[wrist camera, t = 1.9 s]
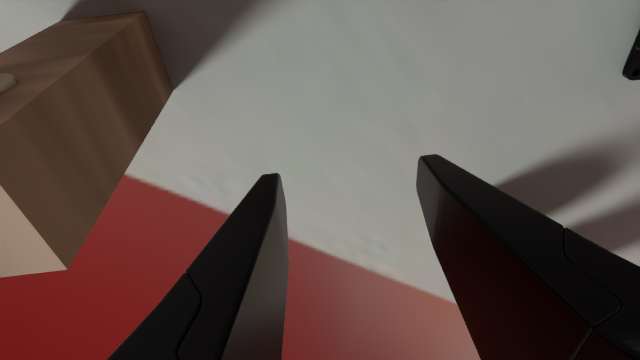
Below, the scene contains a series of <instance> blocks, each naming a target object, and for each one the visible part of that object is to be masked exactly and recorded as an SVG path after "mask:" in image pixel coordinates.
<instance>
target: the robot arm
mask: <svg viewBox="0 0 640 360" xmlns="http://www.w3.org/2000/svg"><path fill="white" fill-rule="evenodd" d="M635 69H636V70H635ZM634 70H635V71H634ZM633 71H634V72H633ZM632 72H633V73H632ZM622 74H623V76H624V77H625V78H627V79H629V80H640V30H639V33H638V35H637V38H636V40H635V42H634V45H633V47H632V50H631V52H630V54H629V57H628V59H627V61H626V64H625V66H624V69H623V72H622ZM416 187H417V193H418V197H419V200H420V204H421V207H422V211H423V214H424V218H425V222H426V225H427V229H428V232H429V236H430V239H431V242H432V245H433V248H434V250H435V253H436V255H437V258H438V260H439V263H440V265H441V267H442V270H443V272H444V274H445V277H446V279H447V281H448V284H449V286H450V288H451V291H452V293H453V295H454V298H455V300H456V302H457V305H458V307H459V310H460V312H461V314H462V316H463V319H464V321H465V324H466V326H467V328H468V330H469V333H470V335H471V338H472V340H473V342H474V345H475V347H476V349H477V352H478V354H479V357H480V359H481V360H640V267H639V266H637V265H635V264H633V263H631V262H629V261H627V260H625V259H623V258H621V257H619V256H617V255H615V254H613V253H612V252H610V251H608V250H606V249H604V248H602V247H601V246H599V245H597V244H595V243H593V242H591V241H589V240H588V239H586V238H584V237H582V236H580V235H579V234H577V233H575V232H573V231H572V230H570V229H568V228H564V227H563V225H561V224H559V223H557V222H556V221H554V220H552V219H550V218H549V217H547V216H545V215H543V214H541V213H540V212H538V211H536V210H534V209H533V208H531V207H529V206H527V205H526V204H524V203H522V202H520V201H519V200H517V199H515V198H513V197H512V196H510V195H508V194H506V193H504V192H503V191H501V190H499V189H497V188H496V187H494V186H492V185H490V184H489V183H487V182H485V181H483V180H482V179H480V178H478V177H476V176H475V175H473V174H471V173H469V172H467V171H466V170H464V169H462V168H460V167H459V166H457V165H455V164H453V163H452V162H450V161H448V160H446V159H445V158H443V157H441V156H439V155H437V154H432V155H424V156H421V157H420V158H419V160H418V169H417V181H416ZM288 252H289V251H288V233H287V215H286V202H285V197H284V192H283V187H282V182H281V177H280V175H279V174H278V173H272V174H264V175H262V176H261V177H260V178H259V179H258V181H257V182H256V183H255V184H254V186H253V187H252V188H251V190H250V191H249V192H248V193H247V195H246V196H245V197H244V198H243V200H242V201H241V202H240V203H239V205H238V206H237V207H236V208H235V210H234V211H233V212H232V213H231V215H230V216H229V217H228V218H227V220H226V221H225V223H223V225H222V226H221V227H220V229H219V230H218V231H217V232H216V234H215V235H214V236H213V237H212V239H211V240H210V241H209V242H208V244H207V245H206V246H205V247H204V249H203V250H202V251H201V252H200V254H199V255H198V256H197V257H196V259H195V260H194V261H193V262H192V264H191V265H190V266H189V267H188V269H187V270H186V273H184V274H183V275H182V276H181V277H180V278H179V280H178V281H177V282H176V284H175V285H174V286H173V287H172V288H171V290H170V291H169V292H168V293H167V294H166V296H165V297H164V298H163V299H162V301H161V302H160V303H159V304H158V305H157V306H156V307H155V309H154V310H153V311H152V312H151V313H150V314H149V315H148V316H147V317H146V318H145V319H144V320H143V322H142V323H141V324H140V325H139V326H138V327H137V328H136V329H135V330H134V332H132V333H131V334H130V335H129V336H128V338H127V339H126V340H125V341H124V342H123V343H122V344H121V345H120V346H119V347H118V348H117V349H116V350H115V351H114V352H113V353H112V354H111V355H110V356H109V357H108V358H107V359H106V360H282V347H283V334H284V321H285V308H286V295H287V282H288V267H289V253H288Z"/></svg>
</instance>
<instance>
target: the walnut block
mask: <svg viewBox="0 0 640 360" xmlns="http://www.w3.org/2000/svg"><path fill="white" fill-rule="evenodd" d="M172 92H173V89H172V86H171V83H170V80H169V78H168V75H167V72H166V69H165V67H164V64H163V61H162V58H161V55H160V53H159V50H158V47H157V44H156V41H155V39H154V36H153V33H152V30H151V28H150V25H149V22H148V19H147V16H146V14H145V11H141V12H133V13H124V14H116V15H107V16H99V17H90V18H82V19H73V20H65V21H59V22H57V23H55V24H54V25H52V26H50V27H48V28H46V29H44V30H43V31H41V32H39V33H37V34H35V35H33V36H31V37H30V38H28V39H26V40H24V41H22V42H20V43H18V44H17V45H15V46H13V47H11V48H9V49H7V50H5V51H4V52H2V53H0V277H8V276H16V275H25V274H33V273H42V272H50V271H59V270H67V269H68V268H69V266H70V264H71V263H72V261H73V259H74V257H75V255H76V254H77V252H78V251H79V249H80V247H81V245H82V244H83V242H84V241H85V239H86V237H87V235H88V234H89V232H90V230H91V228H92V227H93V225H94V224H95V222H96V220H97V219H98V217H99V215H100V214H101V212H102V210H103V208H104V207H105V205H106V203H107V202H108V200H109V198H110V197H111V195H112V193H113V192H114V190H115V188H116V186H117V185H118V183H119V181H120V180H121V178H122V176H123V175H124V173H125V171H126V170H127V168H128V166H129V165H130V163H131V161H132V160H133V158H134V156H135V154H136V153H137V151H138V149H139V148H140V146H141V144H142V143H143V141H144V139H145V138H146V136H147V134H148V132H149V131H150V129H151V127H152V126H153V124H154V122H155V121H156V119H157V117H158V116H159V114H160V112H161V111H162V109H163V107H164V105H165V104H166V102H167V100H168V99H169V97H170V95H171V94H172Z"/></svg>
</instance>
